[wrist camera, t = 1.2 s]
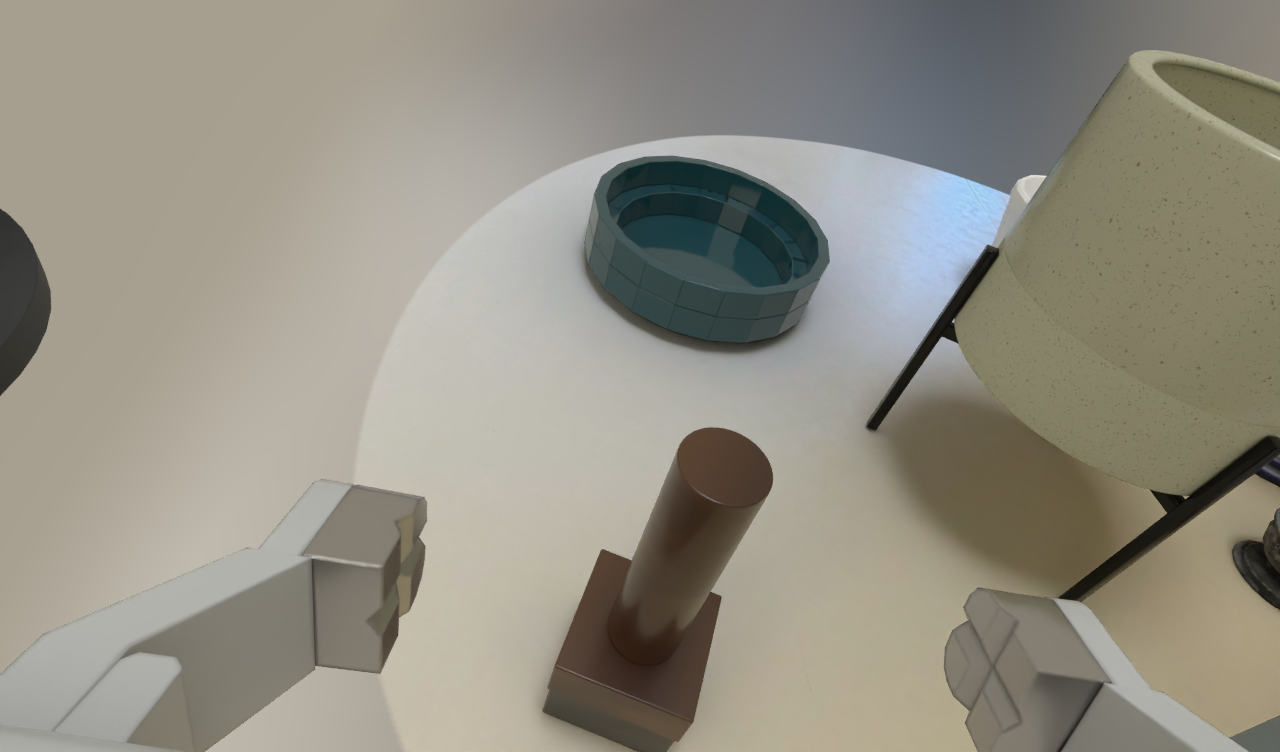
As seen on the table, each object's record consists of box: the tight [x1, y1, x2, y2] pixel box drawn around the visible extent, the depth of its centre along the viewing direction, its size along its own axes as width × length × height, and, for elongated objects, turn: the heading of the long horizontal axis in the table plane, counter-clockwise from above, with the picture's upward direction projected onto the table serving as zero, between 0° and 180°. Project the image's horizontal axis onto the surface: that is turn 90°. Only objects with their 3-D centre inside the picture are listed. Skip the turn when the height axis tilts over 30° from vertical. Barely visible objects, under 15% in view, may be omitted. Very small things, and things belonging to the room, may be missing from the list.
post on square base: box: [543, 428, 773, 752], centre depth 24 cm, size 5×5×14 cm
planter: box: [867, 50, 1280, 602], centre depth 35 cm, size 15×16×23 cm
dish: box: [584, 156, 830, 343], centre depth 50 cm, size 17×17×5 cm
